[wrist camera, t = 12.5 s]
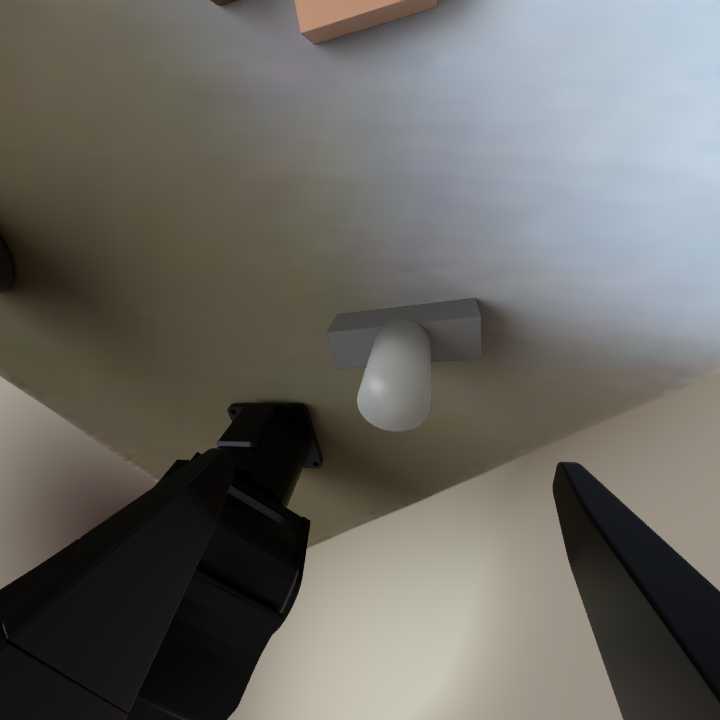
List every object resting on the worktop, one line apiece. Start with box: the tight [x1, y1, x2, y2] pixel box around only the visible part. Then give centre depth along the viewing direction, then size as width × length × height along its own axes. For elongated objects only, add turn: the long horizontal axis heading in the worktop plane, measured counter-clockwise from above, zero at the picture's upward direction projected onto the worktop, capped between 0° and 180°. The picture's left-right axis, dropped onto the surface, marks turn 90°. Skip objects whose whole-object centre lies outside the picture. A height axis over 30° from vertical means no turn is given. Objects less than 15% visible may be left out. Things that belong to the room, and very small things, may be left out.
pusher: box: [327, 298, 482, 432], centre depth 17 cm, size 3×8×8 cm, turn 102°
